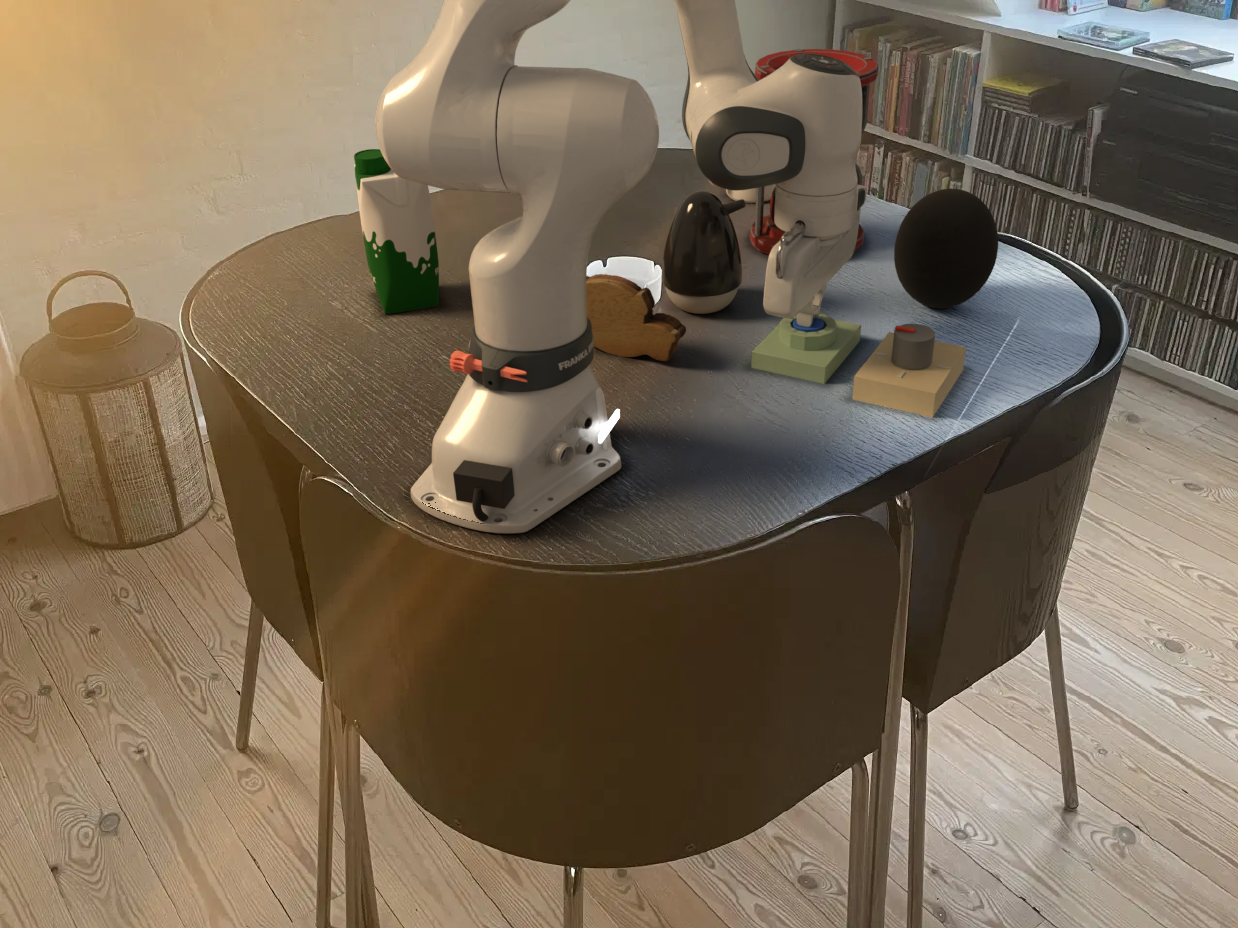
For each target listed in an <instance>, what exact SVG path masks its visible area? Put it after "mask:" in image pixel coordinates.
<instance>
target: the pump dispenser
mask: <svg viewBox="0 0 1238 928" xmlns="http://www.w3.org/2000/svg"><path fill="white" fill-rule="evenodd" d="M746 204H747V203H745V201H744V200H743V199H740V200H737V201H735V200H733V201H730V202H726V203H723V201H722V200H721V198H720V197H719V196H718V195H717V194H715V193H713V192H712V191H708V190H696V191H694V192H691V193H690V194H688V195H687V196H686V197H685V198H684V199H683V200H682V202H681V204H680V205H679V206H678V209H677V210H676V213H675V215H674V217H673V219H672V223H671V225H670V227H669V231H668V234H667V237H666V242H665V246H664V250H663V258H662V266H661V282H662V285H663V286H664V288H665V292H666V294H667V296H668V298H669V300H670V301H671V302H672V303H673V305H675V306H676V308H679V309H680V310H682V311H684V312H687V313H691V314H695V315H707V314H708V315H709V314H712V313H713V314H714V313H717V312H718V311H719V312H720V311H722V310H723V309H725V308H726V307H727V306H728V305H730V303H731V302H732V301H733V300H734V298H735V297H736V295H737V293H738V290H739V287H740V286H741V284H742V281H743V266H742V256H741V250H740V244H739V240H738V236H737V233H736V229H735V225H734V223H733V220H732V218H731V216H730V215H731V214H733V213H736V212H737V211H739V210H740V211H741V210H742V209H745V208H746Z"/></svg>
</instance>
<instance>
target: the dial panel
mask: <svg viewBox="0 0 1238 928" xmlns="http://www.w3.org/2000/svg"><path fill="white" fill-rule="evenodd" d="M893 338H894V332H892V331H889V332H888V333H887V334H886V335H885V337H884V338H883V339H882V341H881V342H880V343H879V344H878V346H877V347H876V348H875V349H874V351H873V352H872V353H871V354H870V356H869V357H868V358H867V359H866V361H865V362H864V363H863V365H862V366H861V367H860V368H859V370H858V371H857V372H856V373H855V375H854V377H853V387H852V388H853V389H852V400H854V401H856V402H857V401H858V402H861V403H867V404H869V405H875V406H880V407H885V408H887V409H894V410H897V411H902V412H906V413H911V414H916V415H919V416H924V417H928V418H934V417H935V415H936V413H937V412H938V411H939V409H940V407H941V405H942V404H943V402H944V401H945V400H946V397H947V396H948V395H949V393H950V392H951V390H952V388H953V387H954V385H955V384H956V382H957V380H958V379H959V378H960V376H961V375H962V372H963V371H964V368H965V367H964V366H965V359H966V353H967V346H963V345H957V344H952V343H947V342H943V341H939V340H938V341H937V340H935V341H934V349H933V357H932V363H931V365H930V366H929V367H927V368H924V369H920V370H909V369H904V368H901V367H898V366H896V365H895V364H894V363H893V362H892V360H891V357H892V348H893Z"/></svg>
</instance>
